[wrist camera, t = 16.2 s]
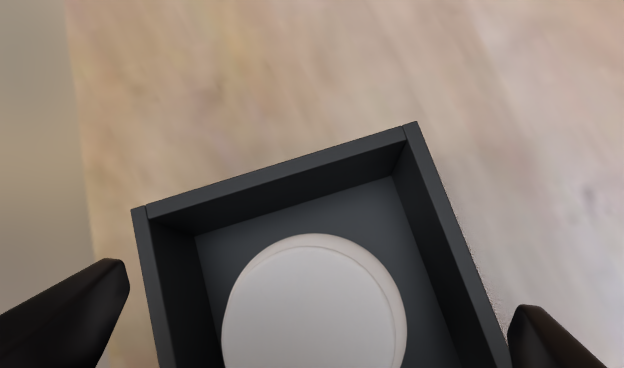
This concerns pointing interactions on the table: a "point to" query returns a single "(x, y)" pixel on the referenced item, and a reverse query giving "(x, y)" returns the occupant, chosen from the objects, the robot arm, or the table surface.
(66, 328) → the robot arm
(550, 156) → the table surface
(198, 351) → the storage bin
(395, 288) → the pill bottle
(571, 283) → the table surface
